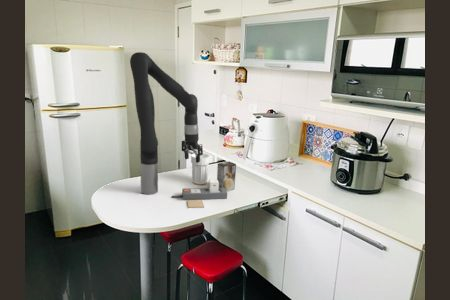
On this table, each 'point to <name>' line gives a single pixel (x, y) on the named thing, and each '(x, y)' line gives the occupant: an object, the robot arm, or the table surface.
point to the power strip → (202, 194)
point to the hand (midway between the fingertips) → (192, 160)
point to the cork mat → (195, 204)
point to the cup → (200, 169)
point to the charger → (213, 186)
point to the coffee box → (226, 175)
